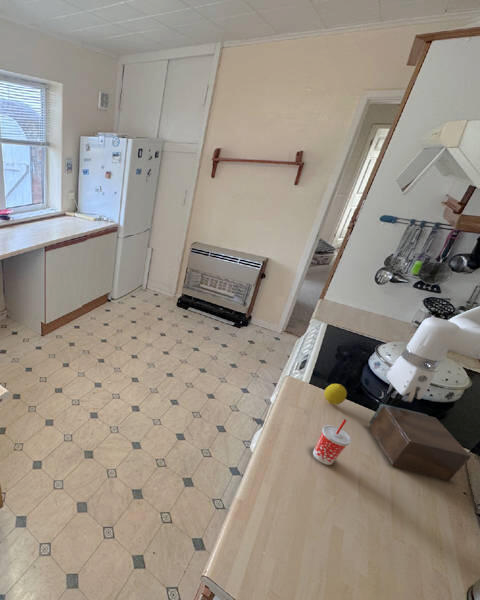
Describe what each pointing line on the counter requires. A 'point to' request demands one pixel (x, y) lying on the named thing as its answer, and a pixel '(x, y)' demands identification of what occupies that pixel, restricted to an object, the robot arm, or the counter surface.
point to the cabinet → (418, 443)
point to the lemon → (335, 393)
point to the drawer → (389, 406)
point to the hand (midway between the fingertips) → (388, 405)
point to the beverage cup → (331, 443)
